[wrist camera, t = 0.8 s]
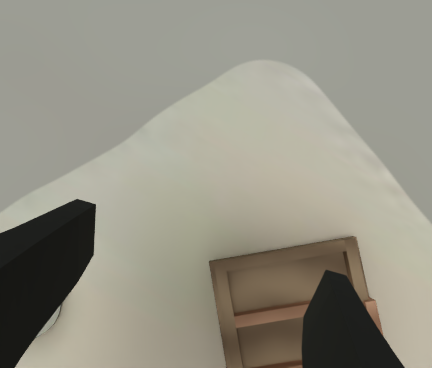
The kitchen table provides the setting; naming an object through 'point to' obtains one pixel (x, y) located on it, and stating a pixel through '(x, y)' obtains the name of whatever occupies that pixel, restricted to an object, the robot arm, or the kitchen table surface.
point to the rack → (278, 299)
